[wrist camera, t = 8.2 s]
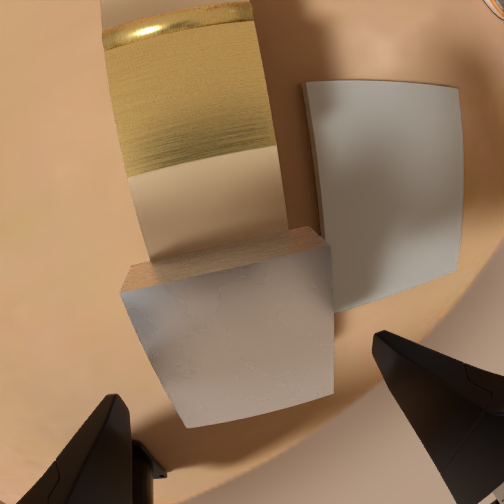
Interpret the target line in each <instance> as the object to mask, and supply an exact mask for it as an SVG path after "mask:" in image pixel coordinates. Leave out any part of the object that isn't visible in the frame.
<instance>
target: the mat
mask: <svg viewBox="0 0 504 504" xmlns="http://www.w3.org/2000/svg"><path fill="white" fill-rule="evenodd" d="M301 86H302V91H303V97H304V103H305V110H306V116H307V122H308V129H309V136H310V143H311V150H312V158H313V166H314V174H315V182H316V191H317V201H318V210H319V221H320V232H321V237H322V238H323V239H324V240H325V241H327V242H328V243H329V244H330V245H331V255H332V274H333V299H334V314H335V313H338V312H341V311H345V310H348V309H351V308H354V307H357V306H361V305H364V304H367V303H370V302H373V301H376V300H379V299H382V298H385V297H388V296H391V295H394V294H397V293H399V292H402V291H405V290H408V289H411V288H413V287H416V286H419V285H422V284H424V283H427V282H430V281H432V280H435V279H437V278H440V277H443V276H445V275H448V274H450V273H453V272H455V271H457V264H458V257H459V249H460V240H461V229H462V217H463V198H464V149H463V131H462V118H461V108H460V100H459V92H458V88H452V87H445V86H437V85H428V84H418V83H407V82H392V81H364V80H339V81H311V82H304V83H302V84H301Z"/></svg>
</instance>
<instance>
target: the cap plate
mask: <svg viewBox="0 0 504 504" xmlns="http://www.w3.org/2000/svg"><path fill="white" fill-rule="evenodd" d="M120 295H121V298H122V300H123V303H124V305H125V308H126V310H127V312H128V315H129V317H130V319H131V322H132V324H133V326H134V329H135V331H136V333H137V335H138V337H139V340H140V342H141V344H142V346H143V348H144V350H145V352H146V354H147V356H148V358H149V361H150V363H151V365H152V367H153V369H154V370H155V372H156V374H157V376H158V378H159V380H160V382H161V384H162V386H163V388H164V390H165V391H166V393H167V395H168V397H169V399H170V401H171V402H172V404H173V406H174V408H175V409H176V411H177V413H178V415H179V416H180V418H181V420H182V421H183V423H184V425H185V426H186V428H194V427H201V426H207V425H213V424H218V423H224V422H229V421H234V420H239V419H243V418H248V417H252V416H257V415H261V414H265V413H269V412H273V411H277V410H281V409H284V408H288V407H292V406H295V405H299V404H302V403H305V402H309V401H312V400H315V399H318V398H322V397H325V396H328V395H331V394H334V299H333V274H332V255H331V245H330V244H329V243H328V242H327V241H325V240H324V239H323V238H322V237H321V236H320V235H319V234H317V233H316V232H315V231H314V230H313V229H312V228H310V227H309V226H305V227H301V228H296V229H291V230H287V231H282V232H278V233H273V234H268V235H264V236H259V237H255V238H250V239H246V240H241V241H237V242H232V243H228V244H223V245H219V246H214V247H210V248H205V249H201V250H196V251H192V252H188V253H183V254H179V255H175V256H170V257H166V258H162V259H157V260H153V261H149V262H144V263H140V264H136V265H132V266H131V267H130V269H129V272H128V274H127V276H126V279H125V281H124V283H123V286H122V288H121V291H120Z"/></svg>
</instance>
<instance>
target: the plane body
mask: <svg viewBox="0 0 504 504" xmlns="http://www.w3.org/2000/svg"><path fill="white" fill-rule="evenodd" d="M238 1H250V0H100V5H101V20H102V32H103V30H105V29H108V28H111V27H114V26H117V25H120V24H124V23H127V22H130V21H134V20H137V19H141V18H145V17H149V16H153V15H157V14H161V13H166V12H170V11H175V10H180V9H186V8H191V7H197V6H204V5H211V4H218V3H227V2H238ZM253 21H254V19H253ZM104 51H105V50H104ZM263 70H264V69H263ZM265 81H266V80H265ZM267 92H268V91H267ZM268 98H269V97H268ZM269 104H270V103H269ZM270 109H271V108H270ZM271 115H272V114H271ZM272 121H273V120H272ZM273 128H274V126H273ZM274 134H275V132H274ZM275 140H276V139H275ZM124 166H125V165H124ZM127 179H128V183H129V187H130V191H131V195H132V198H133V202H134V206H135V210H136V213H137V217H138V221H139V224H140V228H141V231H142V235H143V238H144V241H145V245H146V248H147V251H148V255H149V258H150V261H153V260H157V259H162V258H166V257H170V256H175V255H179V254H183V253H188V252H192V251H196V250H201V249H205V248H210V247H214V246H219V245H223V244H228V243H232V242H237V241H241V240H246V239H250V238H255V237H259V236H264V235H268V234H273V233H278V232H282V231H287V230H289V228H288V221H287V213H286V206H285V199H284V191H283V184H282V178H281V171H280V164H279V158H278V151H277V145H276V146H271V147H264V148H258V149H253V150H247V151H241V152H236V153H231V154H226V155H221V156H216V157H211V158H206V159H201V160H197V161H192V162H188V163H184V164H179V165H175V166H171V167H167V168H163V169H159V170H155V171H151V172H147V173H144V174H140V175H136V176H133V177H129V178H127Z"/></svg>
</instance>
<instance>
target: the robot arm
mask: <svg viewBox="0 0 504 504" xmlns="http://www.w3.org/2000/svg"><path fill="white" fill-rule="evenodd" d="M372 354H373V357H374V359H375V361H376V363H377V365H378V367H379V369H380V372H381V374H382V376H383V378H384V380H385V382H386V384H387V386H388V388H389V390H390V391H391V393H392V395H393V396H394V398H395V400H396V401H397V403H398V404H399V406H400V408H401V409H402V411H403V412H404V414H405V416H406V417H407V419H408V421H409V422H410V424H411V425H412V427H413V429H414V430H415V432H416V434H417V435H418V437H419V439H420V440H421V442H422V444H423V445H424V447H425V449H426V450H427V452H428V454H429V455H430V457H431V459H432V460H433V462H434V464H435V466H436V467H437V469H438V471H439V472H440V474H441V476H442V478H443V480H444V482H445V483H446V485H447V487H448V489H449V490H450V492H451V494H452V495H453V497H454V499H455V501H456V503H457V504H478V503H479V502H480V501H482V500H483V499H484V498H485V497H487V496H488V495H489V494H490V493H491V492H493V494H494V495H495V497H496V498H497V499H496V500H495V501H493V502H492V503H491V504H504V376H501V375H498V374H494V373H491V372H488V371H485V370H482V369H479V368H477V367H474V366H471V365H469V364H466V363H463V362H461V361H458V360H456V359H453V358H451V357H449V356H446V355H444V354H441V353H439V352H437V351H434V350H432V349H429V348H427V347H424V346H422V345H420V344H417V343H415V342H412V341H410V340H408V339H405V338H403V337H400V336H398V335H396V334H393V333H391V332H389V331H386V330H383V331H380V332H377V333H375V334H374V336H373V345H372ZM160 478H167V472H166V471H165V470H164V469H163V468H162V467H161V466H160V465H159V463H158V462H157V461H156V460H155V459H154V458H153V457H152V456H151V455H150V453H149V452H148V451H147V450H146V449H145V448H144V446H143V445H142V444H141V443H139V442H136V441H131V428H130V414H129V410H128V408H127V406H126V405H125V403H124V402H123V400H122V399H121V397H120V396H119V395H118V394H108V395H106V396H105V397H104V399H103V400H102V401H101V402H100V404H99V405H98V406H97V407H96V409H95V410H94V411H93V412H92V414H91V415H90V416H89V417H88V419H87V420H86V421H85V422H84V424H83V425H82V426H81V428H80V429H79V430H78V431H77V433H76V434H75V435H74V436H73V438H72V439H71V440H70V441H69V443H68V444H67V445H66V447H65V448H64V449H63V450H62V452H61V453H60V454H59V456H58V457H57V458H56V461H54V462H53V463H52V465H51V466H50V467H49V468H48V470H47V471H46V472H45V473H44V474H43V476H42V477H41V478H40V479H39V480H38V481H37V482H36V483H35V485H34V486H33V487H32V488H31V489H30V490H29V491H28V492H27V493H26V494H25V495H24V496H23V497H22V498H21V499H20V500H19V501H18V502H17V503H16V504H153V479H160Z"/></svg>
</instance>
